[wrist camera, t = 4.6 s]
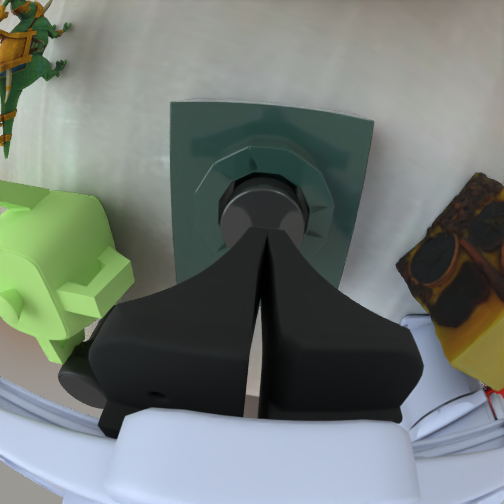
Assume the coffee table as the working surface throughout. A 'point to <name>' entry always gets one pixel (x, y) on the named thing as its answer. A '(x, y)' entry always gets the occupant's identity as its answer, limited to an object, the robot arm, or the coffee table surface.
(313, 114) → the button base
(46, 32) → the figurine
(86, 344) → the flashlight
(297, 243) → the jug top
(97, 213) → the teapot
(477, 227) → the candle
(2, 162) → the coffee table surface
